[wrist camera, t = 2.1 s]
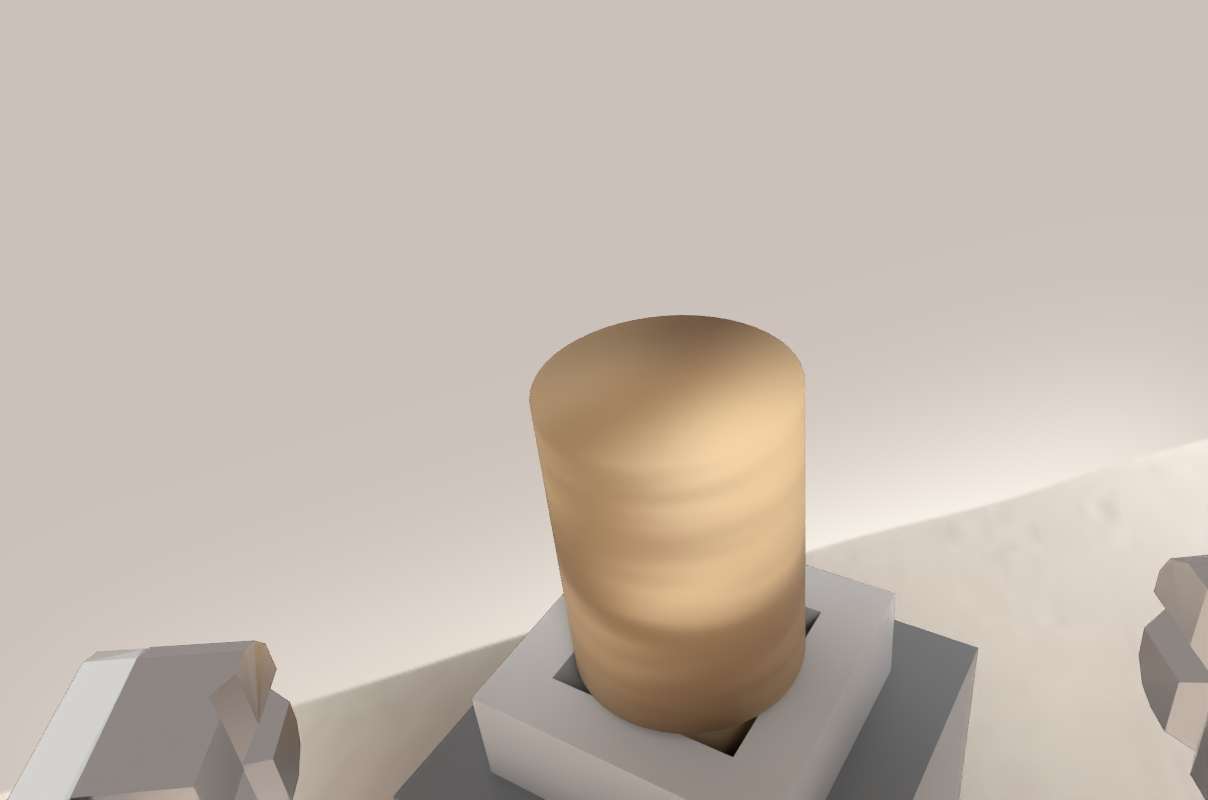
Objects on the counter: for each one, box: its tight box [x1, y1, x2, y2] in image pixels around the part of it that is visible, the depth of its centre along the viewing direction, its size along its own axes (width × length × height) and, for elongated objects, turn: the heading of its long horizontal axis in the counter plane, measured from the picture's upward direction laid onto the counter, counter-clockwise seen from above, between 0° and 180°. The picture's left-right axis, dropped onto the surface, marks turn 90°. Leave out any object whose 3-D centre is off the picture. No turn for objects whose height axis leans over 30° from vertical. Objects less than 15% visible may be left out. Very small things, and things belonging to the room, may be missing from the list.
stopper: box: [529, 315, 805, 757], centre depth 25 cm, size 6×6×11 cm
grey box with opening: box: [393, 565, 978, 800], centre depth 30 cm, size 12×12×13 cm
